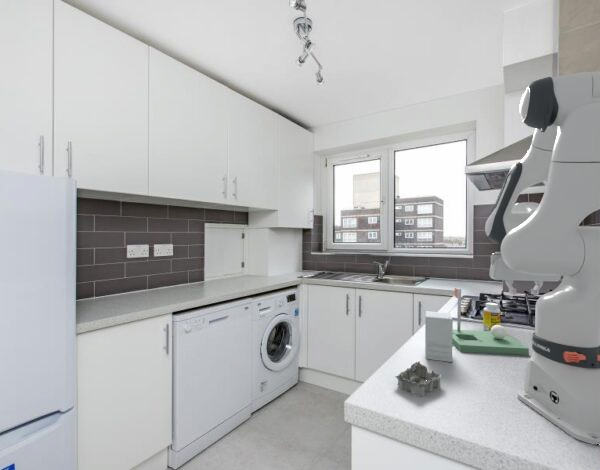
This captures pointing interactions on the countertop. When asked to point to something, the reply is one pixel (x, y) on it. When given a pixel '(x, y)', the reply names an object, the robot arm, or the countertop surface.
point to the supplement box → (438, 336)
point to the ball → (498, 332)
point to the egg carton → (418, 379)
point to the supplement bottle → (491, 316)
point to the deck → (483, 339)
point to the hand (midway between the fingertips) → (523, 294)
